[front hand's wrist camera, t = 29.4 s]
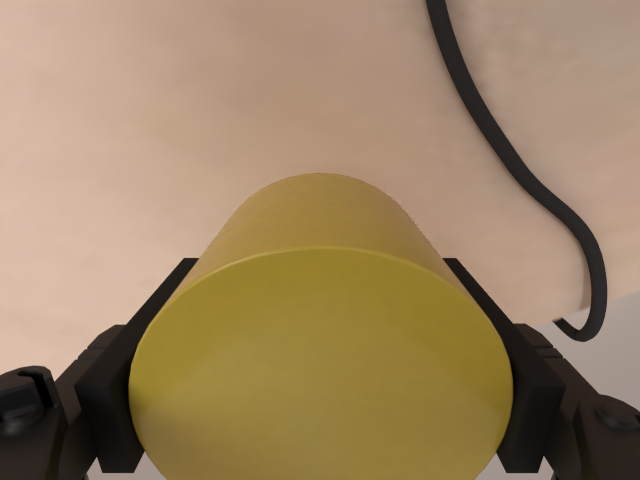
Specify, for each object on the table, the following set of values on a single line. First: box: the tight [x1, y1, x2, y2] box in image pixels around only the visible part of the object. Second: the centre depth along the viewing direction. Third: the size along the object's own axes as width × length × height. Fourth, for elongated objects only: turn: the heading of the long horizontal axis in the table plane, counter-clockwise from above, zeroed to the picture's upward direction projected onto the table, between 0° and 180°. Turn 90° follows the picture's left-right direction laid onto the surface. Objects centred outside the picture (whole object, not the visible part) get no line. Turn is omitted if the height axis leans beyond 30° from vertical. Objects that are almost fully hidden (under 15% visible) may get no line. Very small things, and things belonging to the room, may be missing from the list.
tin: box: [128, 173, 513, 480], centre depth 12 cm, size 9×9×7 cm
